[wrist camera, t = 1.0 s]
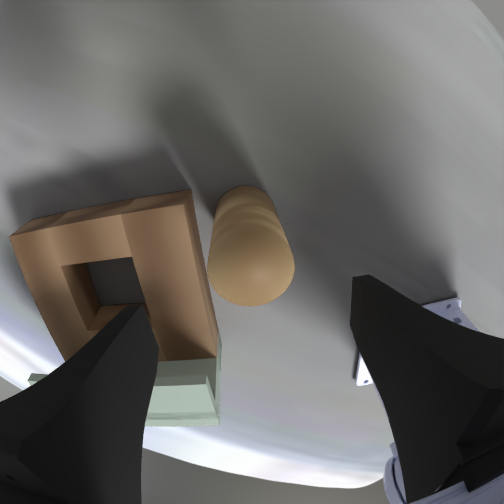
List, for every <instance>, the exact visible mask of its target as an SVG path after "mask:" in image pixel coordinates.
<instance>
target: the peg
mask: <svg viewBox="0 0 504 504" xmlns="http://www.w3.org/2000/svg"><path fill="white" fill-rule="evenodd" d="M294 269H295V264H294V258H293V255H292V252H291V249H290V247H289V244H288V241H287V239H286V236H285V233H284V231H283V228H282V226H281V223H280V220H279V218H278V215H277V212H276V210H275V207H274V205H273V202H272V200H271V199H270V197H269V196H268V195H267V194H266V193H265V192H264V191H262V190H261V189H258V188H256V187H253V186H239V187H235V188H233V189H231V190H229V191H227V192H226V193H225V194H224V195H223V196H222V197H221V199H220V200H219V202H218V204H217V207H216V213H215V219H214V225H213V231H212V238H211V244H210V251H209V257H208V264H207V273H208V278H209V281H210V283H211V285H212V287H213V288H214V290H215V291H216V292H217V293H218V294H219V295H220V296H221V297H222V298H224V299H225V300H227V301H229V302H231V303H234V304H237V305H242V306H258V305H262V304H266V303H268V302H271V301H273V300H274V299H276V298H278V297H279V296H280V295H281V294H282V293H284V291H285V290H286V289H287V288H288V286H289V285H290V283H291V281H292V278H293V275H294Z"/></svg>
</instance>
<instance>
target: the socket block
mask: <svg viewBox="0 0 504 504" xmlns="http://www.w3.org/2000/svg"><path fill="white" fill-rule="evenodd" d="M9 238H10V241H11V243H12V246H13V249H14V252H15V255H16V257H17V260H18V263H19V265H20V268H21V270H22V273H23V275H24V278H25V280H26V283H27V285H28V287H29V290H30V292H31V294H32V297H33V299H34V301H35V303H36V306H37V308H38V310H39V312H40V314H41V316H42V318H43V320H44V322H45V324H46V326H47V328H48V330H49V332H50V334H51V336H52V338H53V340H54V342H55V344H56V346H57V347H58V349H59V351H60V353H61V355H62V356H63V358H64V360H65V362H66V361H67V360H68V359H69V358H71V357H72V356H73V355H74V354H75V353H76V352H77V351H79V350H80V349H81V348H82V347H83V346H84V345H85V344H86V343H87V342H89V341H90V340H91V339H92V338H93V337H94V336H95V335H96V334H97V333H98V332H99V331H100V330H101V329H102V328H103V327H104V326H105V325H106V324H107V323H108V322H109V321H111V320H112V319H113V318H114V317H115V316H116V315H117V314H118V313H119V312H120V311H121V310H122V309H124V308H125V307H126V306H128V305H139V304H143V306H144V309H145V311H146V314H147V317H148V320H149V323H150V325H151V328H152V331H153V333H154V336H155V339H156V341H157V344H158V346H159V356H158V362H160V361H180V360H195V359H209V358H217V346H218V334H219V333H218V332H219V331H218V326H217V321H216V317H215V312H214V307H213V303H212V298H211V293H210V288H209V283H208V278H207V273H206V268H205V263H204V258H203V253H202V247H201V242H200V237H199V231H198V226H197V220H196V215H195V209H194V203H193V197H192V191H191V190H184V191H178V192H171V193H165V194H159V195H153V196H147V197H141V198H135V199H129V200H124V201H118V202H113V203H108V204H103V205H98V206H92V207H88V208H83V209H78V210H73V211H68V212H64V213H59V214H55V215H50V216H46V217H42V218H37V219H33V220H31V221H29V222H28V223H27V224H25V225H24V226H23V227H21V228H20V229H19V230H17V231H16V232H15V233H13V234H12V235H11V236H9ZM125 257H132V259H133V262H134V265H135V269H136V272H137V276H138V279H139V282H140V285H141V289H142V292H143V295H144V298H145V301H146V303H134V304H122V305H109V306H101V305H100V302H99V300H98V297H97V295H96V292H95V289H94V286H93V284H92V281H91V278H90V275H89V273H88V270H87V267H86V264H85V263H86V262H94V261H102V260H109V259H117V258H125ZM219 336H220V335H219ZM219 340H220V339H219ZM220 342H221V341H220Z"/></svg>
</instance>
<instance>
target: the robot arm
mask: <svg viewBox="0 0 504 504" xmlns="http://www.w3.org/2000/svg"><path fill="white" fill-rule="evenodd" d="M447 305H448V306H447ZM460 306H461V299H460V298H458V297H456V298H452V299H448V300H444V301H440V302H435V303H431V304H427V305H422V306H421V305H419V304H417V303H415V302H414V301H412V300H410V299H409V298H407V297H405V296H404V295H402V294H400V293H399V292H397V291H396V290H394V289H392V288H391V287H389V286H388V285H386V284H384V283H383V282H381V281H380V280H378V279H376V278H374V277H373V276H371V275H364V276H358V277H353V281H352V301H351V317H350V326H351V329H352V332H353V336H354V339H355V342H356V345H357V348H358V350H359V352H360V353H359V360H358V366H357V372H356V379H355V383H356V385H357V386H362V385H366V384H370V383H373V384H374V386H375V389H376V391H377V393H378V396H379V398H380V400H381V403H382V405H383V408H384V410H385V413H386V415H387V417H388V420H389V423H390V426H391V429H392V433H393V437H394V442H393V443H392V444H390V448H391V451H392V454H393V457H391V458H390V459H389V460H388V461H387V463H386V466H385V472H384V488H385V492H386V495H387V498H388V500H389V503H390V504H504V339H502V338H498V337H495V336H491V335H487V334H484V333H481V332H479V331H478V329H477V328H476V327H475V326H474V325H473V324H472V322H471V321H470V320H469V319H468V318H467V317H466V315H465V314H464V313H463V312H462V311H461V310H460ZM158 356H159V346H158V344H157V341H156V339H155V336H154V333H153V331H152V328H151V325H150V323H149V320H148V317H147V314H146V311H145V309H144V306H143V304H139V305H128V306H126V307H125V308H124V309H122V310H121V311H120V312H119V313H118V314H117V315H116V316H115V317H114V318H113V319H112V320H111V321H109V322H108V323H107V324H106V325H105V326H104V327H103V328H102V329H101V330H100V331H99V332H98V333H97V334H96V335H95V336H94V337H93V338H92V339H91V340H90V341H89V342H87V343H86V344H85V345H84V346H83V347H82V348H81V349H80V350H79V351H77V352H76V353H75V354H74V355H73V356H72V357H71V358H69V359H68V360H67V361H66V362H65V363H63V364H62V365H61V366H59V367H58V368H57V369H55V370H54V371H53V372H51V373H50V374H49V375H47V376H46V377H44V378H42V379H41V380H39V381H38V382H36V383H35V384H33V385H31V386H30V387H28V388H27V389H25V390H23V391H21V392H20V393H18V394H16V395H14V396H12V397H10V398H8V399H6V400H4V401H1V402H0V504H141V458H142V444H143V433H144V427H145V422H146V417H147V413H148V408H149V404H150V400H151V395H152V391H153V387H154V383H155V378H156V374H157V366H158Z"/></svg>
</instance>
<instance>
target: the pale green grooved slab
mask: <svg viewBox="0 0 504 504" xmlns="http://www.w3.org/2000/svg"><path fill="white" fill-rule="evenodd" d="M218 333H219V332H218ZM219 339H220V336H219V334H218V346H217V358H209V359H195V360H180V361H160V362H158V366H157V374H156V378H155V383H154V387H153V391H152V395H151V400H150V404H149V408H148V413H147V417H146V422H145V426H209V425H220V383H221V348H222V344H221V342H220V341H221V340H219ZM46 376H47V374H35V373H32V374H31V375H30V377H29V379H28V382H29V383H30V385H33V384H35V383H36V382H38V381H39V380H41V379H42V378H44V377H46Z"/></svg>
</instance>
